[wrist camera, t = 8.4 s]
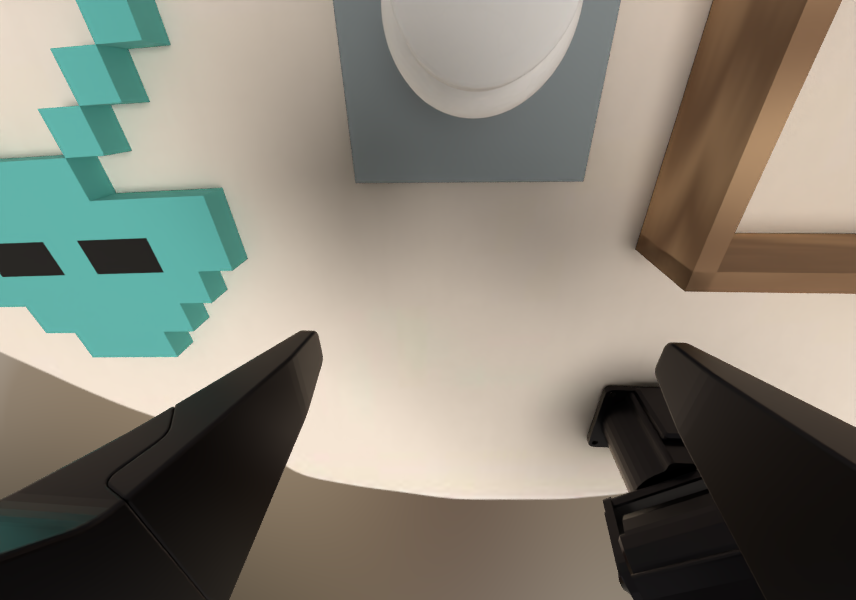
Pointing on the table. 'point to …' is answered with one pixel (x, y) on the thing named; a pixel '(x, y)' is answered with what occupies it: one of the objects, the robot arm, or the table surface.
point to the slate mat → (465, 137)
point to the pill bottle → (478, 49)
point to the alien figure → (109, 213)
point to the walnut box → (741, 158)
